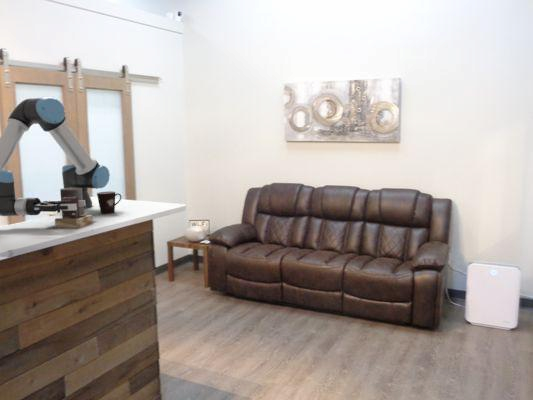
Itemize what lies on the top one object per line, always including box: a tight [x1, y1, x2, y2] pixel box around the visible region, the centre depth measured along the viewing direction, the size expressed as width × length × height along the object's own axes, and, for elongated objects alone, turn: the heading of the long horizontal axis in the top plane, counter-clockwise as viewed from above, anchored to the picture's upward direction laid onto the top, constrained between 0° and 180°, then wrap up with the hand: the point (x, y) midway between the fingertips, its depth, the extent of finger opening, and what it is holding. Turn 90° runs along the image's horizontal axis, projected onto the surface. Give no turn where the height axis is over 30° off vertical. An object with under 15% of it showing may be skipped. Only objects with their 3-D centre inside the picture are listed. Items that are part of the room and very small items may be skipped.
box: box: [60, 197, 80, 219], centre depth 214 cm, size 6×4×12 cm
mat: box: [44, 220, 98, 230], centre depth 216 cm, size 16×15×1 cm
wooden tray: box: [54, 214, 94, 229], centre depth 215 cm, size 10×12×4 cm
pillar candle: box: [59, 186, 85, 215], centre depth 235 cm, size 10×10×15 cm
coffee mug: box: [96, 190, 122, 215], centre depth 246 cm, size 12×9×10 cm
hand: (80, 205), depth 214 cm, fingers open, 9 cm apart
